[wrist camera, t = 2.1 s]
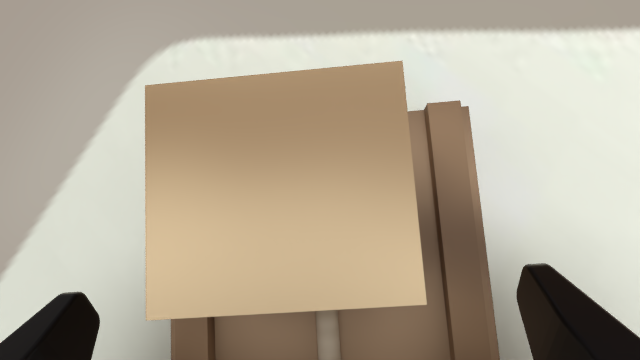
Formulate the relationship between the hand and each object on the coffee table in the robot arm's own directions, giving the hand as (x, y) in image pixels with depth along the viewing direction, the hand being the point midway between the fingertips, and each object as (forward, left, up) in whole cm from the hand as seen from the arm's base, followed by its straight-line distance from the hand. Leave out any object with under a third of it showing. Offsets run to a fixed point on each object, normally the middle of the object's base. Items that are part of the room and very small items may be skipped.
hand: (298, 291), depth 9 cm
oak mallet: (-1, 0, -8) cm, 8 cm away
